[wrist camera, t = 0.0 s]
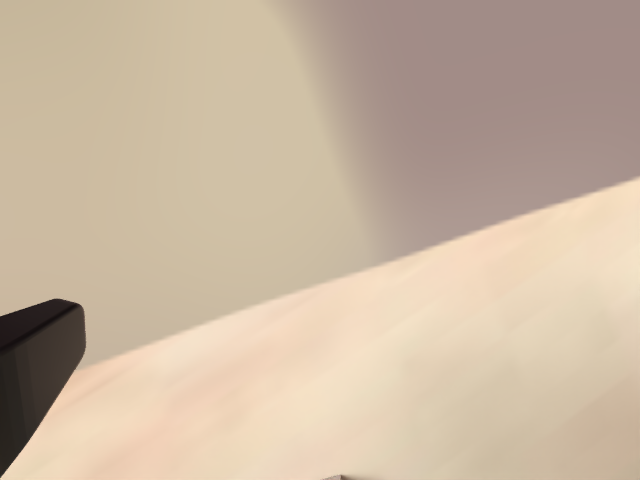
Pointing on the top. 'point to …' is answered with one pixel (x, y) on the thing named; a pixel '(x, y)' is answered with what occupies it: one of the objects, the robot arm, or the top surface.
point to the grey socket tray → (334, 478)
